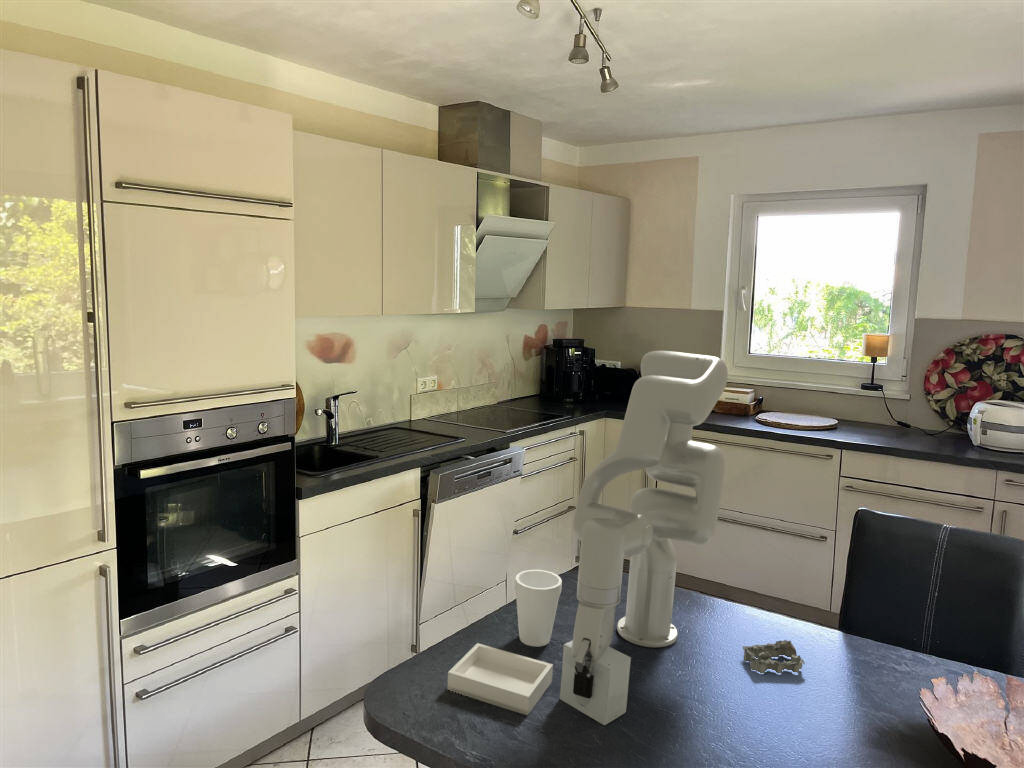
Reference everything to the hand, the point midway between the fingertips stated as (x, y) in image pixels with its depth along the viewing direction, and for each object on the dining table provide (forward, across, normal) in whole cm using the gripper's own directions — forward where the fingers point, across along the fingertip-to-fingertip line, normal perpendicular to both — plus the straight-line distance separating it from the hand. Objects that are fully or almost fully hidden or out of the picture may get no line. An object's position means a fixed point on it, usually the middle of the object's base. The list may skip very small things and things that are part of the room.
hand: (591, 682), depth 130 cm
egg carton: (+4, -29, +28) cm, 41 cm away
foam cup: (+4, -16, -17) cm, 23 cm away
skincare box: (+4, +1, +1) cm, 4 cm away
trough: (+4, +3, -16) cm, 17 cm away
